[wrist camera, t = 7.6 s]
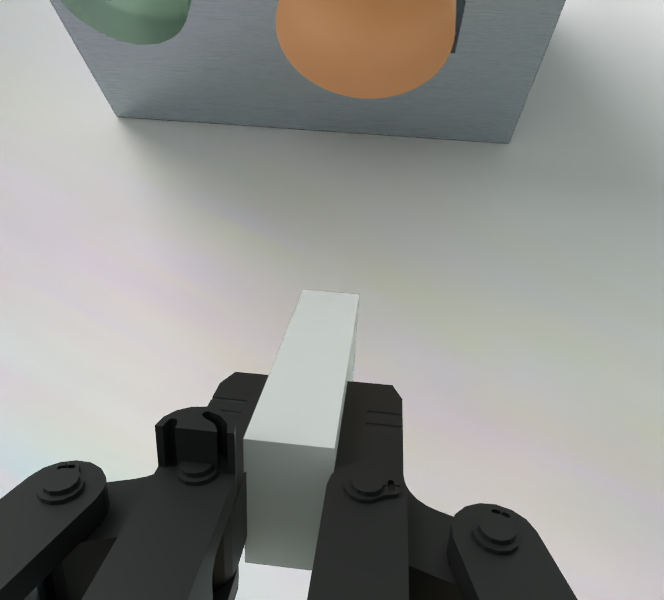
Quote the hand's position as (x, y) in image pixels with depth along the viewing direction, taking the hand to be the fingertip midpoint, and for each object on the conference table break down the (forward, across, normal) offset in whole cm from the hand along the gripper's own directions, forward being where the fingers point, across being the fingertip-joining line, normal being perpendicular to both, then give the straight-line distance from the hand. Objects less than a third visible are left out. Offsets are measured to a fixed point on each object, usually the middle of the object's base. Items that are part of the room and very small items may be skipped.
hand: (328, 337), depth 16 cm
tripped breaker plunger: (+14, 0, +10) cm, 17 cm away
